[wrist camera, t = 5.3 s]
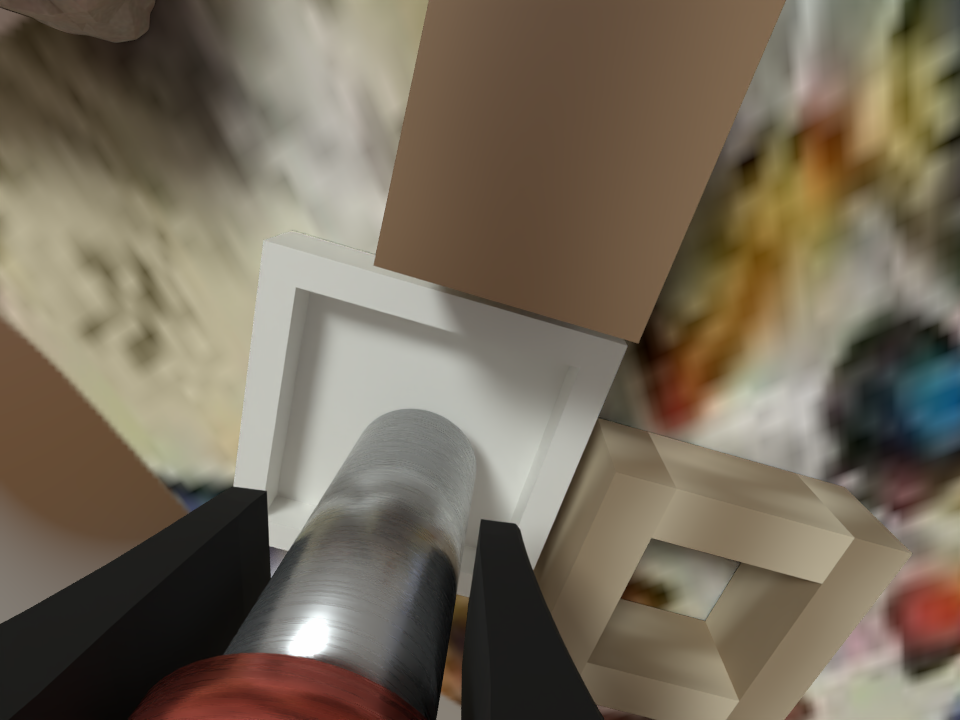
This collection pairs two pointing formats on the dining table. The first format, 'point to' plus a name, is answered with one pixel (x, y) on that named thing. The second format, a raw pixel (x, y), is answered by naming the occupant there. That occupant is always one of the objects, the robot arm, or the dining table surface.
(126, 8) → the brick
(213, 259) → the dining table surface
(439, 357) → the tray
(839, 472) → the dining table surface
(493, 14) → the brown rectangular block
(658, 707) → the socket block
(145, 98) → the dining table surface
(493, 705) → the robot arm
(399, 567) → the pin
